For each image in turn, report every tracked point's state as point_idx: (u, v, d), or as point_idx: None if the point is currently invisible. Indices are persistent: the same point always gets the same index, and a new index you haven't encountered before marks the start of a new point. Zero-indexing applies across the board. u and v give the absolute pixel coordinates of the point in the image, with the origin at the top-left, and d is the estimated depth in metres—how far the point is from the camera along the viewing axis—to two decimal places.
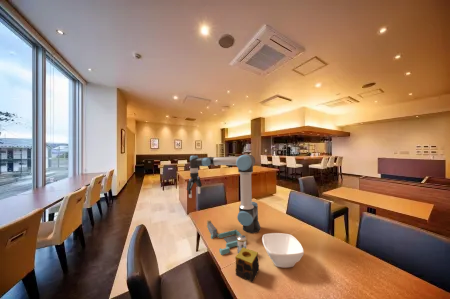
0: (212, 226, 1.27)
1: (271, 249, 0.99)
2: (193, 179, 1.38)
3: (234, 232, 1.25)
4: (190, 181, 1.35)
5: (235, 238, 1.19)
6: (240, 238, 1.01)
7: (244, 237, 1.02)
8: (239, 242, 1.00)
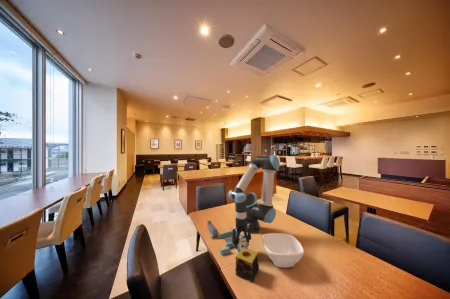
0: (212, 226, 1.27)
1: (271, 249, 0.99)
2: (238, 227, 1.00)
3: None
4: (233, 232, 0.99)
5: None
6: (240, 238, 1.01)
7: (244, 237, 1.02)
8: (239, 242, 1.00)
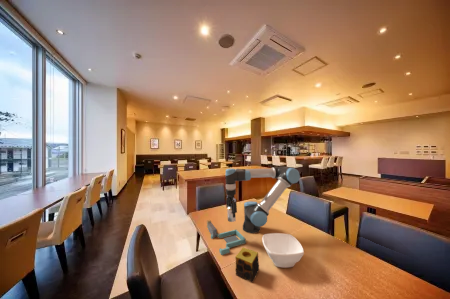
0: (212, 226, 1.27)
1: (271, 249, 0.99)
2: None
3: (234, 232, 1.25)
4: (235, 202, 1.12)
5: (235, 238, 1.19)
6: None
7: None
8: None
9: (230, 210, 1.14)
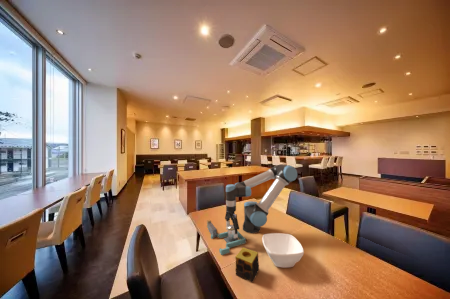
0: (212, 226, 1.27)
1: (271, 249, 0.99)
2: None
3: None
4: (236, 217, 1.11)
5: None
6: (233, 227, 1.17)
7: (231, 225, 1.19)
8: None
9: (230, 230, 1.15)
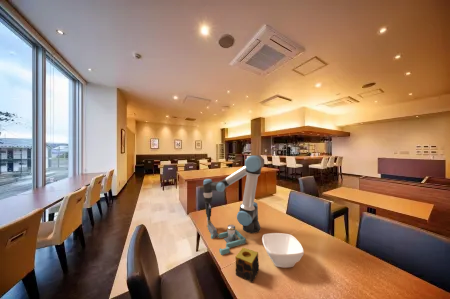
0: (212, 226, 1.26)
1: (271, 249, 0.99)
2: (210, 204, 1.35)
3: None
4: (210, 208, 1.32)
5: None
6: (232, 226, 1.17)
7: (231, 225, 1.19)
8: (234, 229, 1.16)
9: (230, 230, 1.15)
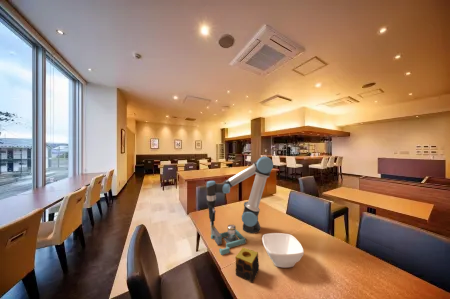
0: (216, 232, 1.17)
1: (271, 249, 0.99)
2: (214, 207, 1.25)
3: None
4: (214, 213, 1.23)
5: None
6: (233, 226, 1.17)
7: (231, 225, 1.19)
8: (234, 229, 1.16)
9: (230, 230, 1.15)
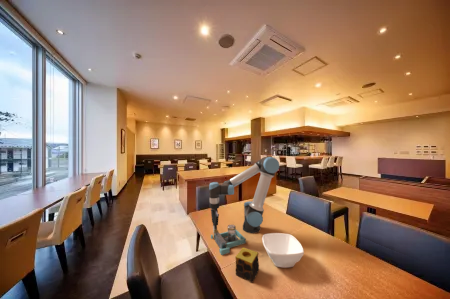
0: (220, 237, 1.10)
1: (271, 249, 0.99)
2: (217, 211, 1.18)
3: None
4: (218, 216, 1.16)
5: None
6: (233, 226, 1.17)
7: (231, 225, 1.19)
8: (234, 229, 1.16)
9: (230, 230, 1.15)
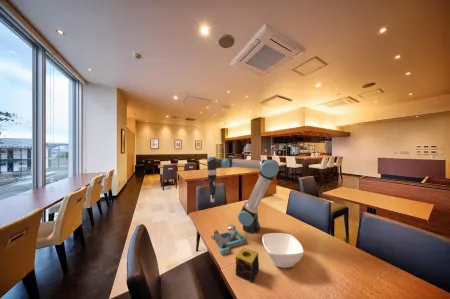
0: (220, 237, 1.10)
1: (271, 249, 0.99)
2: None
3: None
4: (215, 186, 1.29)
5: None
6: (232, 226, 1.17)
7: (231, 225, 1.19)
8: (234, 229, 1.16)
9: (230, 230, 1.15)
